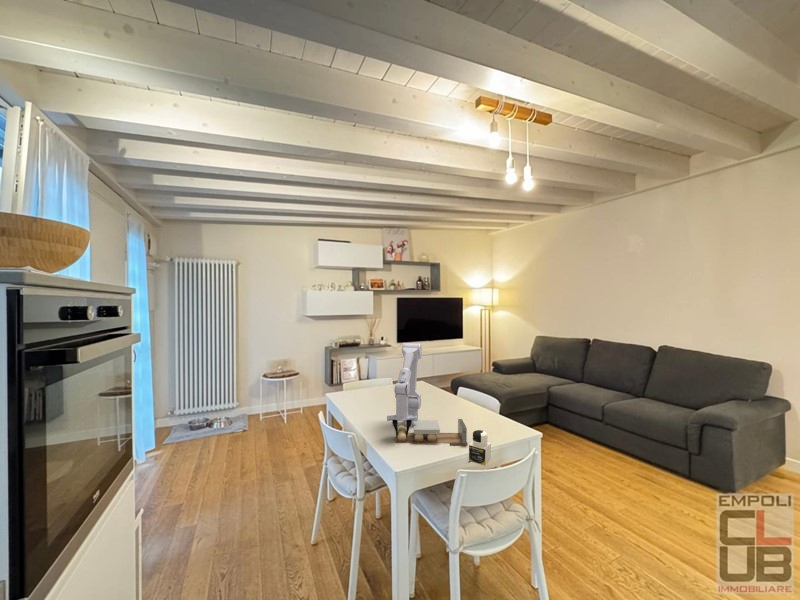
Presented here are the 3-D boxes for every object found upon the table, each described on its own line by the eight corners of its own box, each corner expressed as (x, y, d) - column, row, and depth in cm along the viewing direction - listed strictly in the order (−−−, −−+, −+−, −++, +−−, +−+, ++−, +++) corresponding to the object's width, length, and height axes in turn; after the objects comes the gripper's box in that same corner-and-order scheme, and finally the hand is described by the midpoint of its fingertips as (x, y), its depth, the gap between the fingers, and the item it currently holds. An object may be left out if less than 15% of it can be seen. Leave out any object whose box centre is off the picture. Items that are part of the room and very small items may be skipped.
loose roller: (397, 433, 167) (397, 425, 167) (406, 433, 167) (405, 425, 167) (397, 442, 157) (397, 433, 157) (406, 442, 157) (406, 433, 157)
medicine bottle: (468, 461, 141) (468, 432, 141) (475, 454, 147) (475, 427, 147) (485, 466, 137) (485, 436, 137) (491, 459, 143) (491, 431, 143)
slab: (413, 424, 168) (413, 420, 168) (437, 424, 168) (437, 420, 168) (414, 433, 156) (414, 429, 156) (439, 434, 156) (439, 429, 156)
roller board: (395, 434, 168) (396, 418, 168) (462, 435, 168) (463, 419, 168) (395, 445, 156) (395, 427, 156) (467, 445, 156) (467, 428, 156)
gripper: (386, 410, 158) (386, 438, 158) (417, 410, 158) (417, 439, 158) (387, 405, 165) (387, 432, 165) (416, 405, 165) (416, 433, 165)
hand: (401, 435), depth 162 cm, fingers closed on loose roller, 4 cm apart
